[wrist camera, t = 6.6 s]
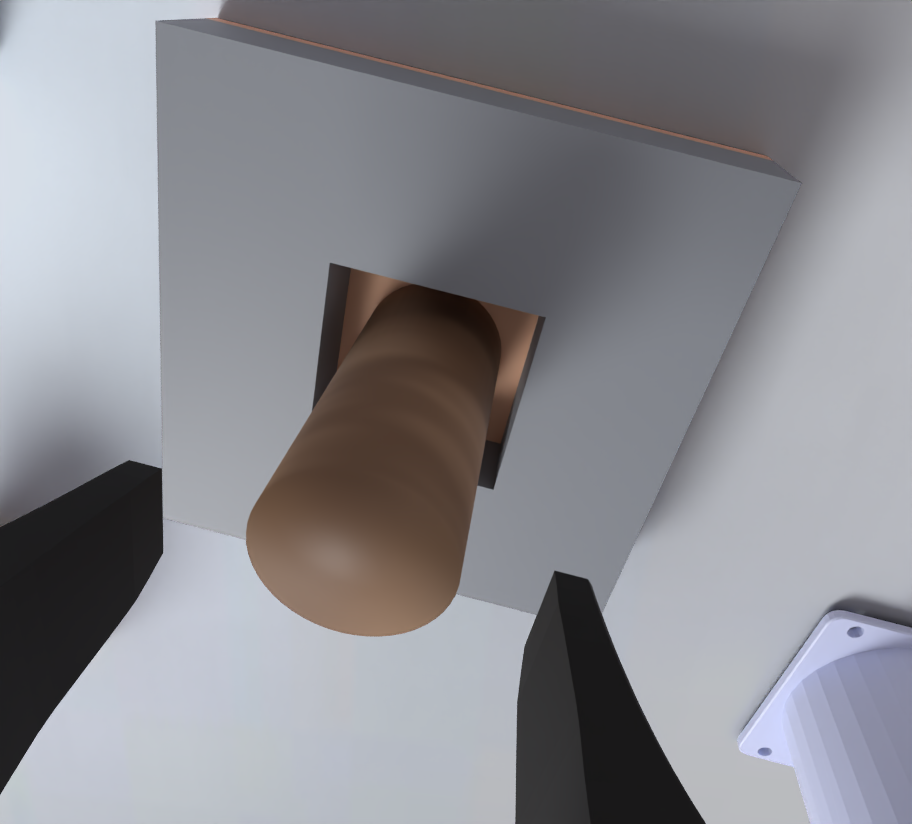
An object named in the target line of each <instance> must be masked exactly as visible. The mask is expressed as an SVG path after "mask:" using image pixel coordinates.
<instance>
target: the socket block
mask: <svg viewBox="0 0 912 824" xmlns="http://www.w3.org/2000/svg"><path fill="white" fill-rule="evenodd" d="M156 83H157V149H158V215H159V281H160V346H161V412H162V478H163V518H164V519H167V520H171V521H175V522H179V523H183V524H187V525H191V526H194V527H198V528H202V529H206V530H210V531H214V532H218V533H222V534H225V535H229V536H233V537H237V538H241V539H245V540H246V529H247V522H248V519H249V516H250V513H251V511H252V509H253V507H254V505H255V503H256V502H257V500H258V498H259V497H260V495H261V494H262V492H263V490H264V489H265V487H266V485H267V484H268V482H269V481H270V479H271V477H272V476H273V474H274V472H275V471H276V469H277V468H278V466H279V464H280V463H281V461H282V459H283V458H284V456H285V455H286V453H287V451H288V450H289V448H290V446H291V445H292V443H293V442H294V440H295V438H296V437H297V435H298V433H299V432H300V430H301V429H302V427H303V425H304V424H305V422H306V420H307V419H308V417H309V416H310V414H311V412H312V411H313V409H314V407H315V406H316V404H317V403H318V401H319V399H320V398H321V396H322V394H323V393H324V391H325V390H326V388H327V386H328V385H329V383H330V381H331V380H332V378H333V377H334V375H335V373H336V372H337V370H338V368H339V367H340V365H341V364H342V362H343V360H344V359H345V357H346V355H347V354H348V352H349V351H350V349H351V347H352V346H353V344H354V342H355V341H356V339H357V338H358V336H359V334H360V333H361V331H362V330H363V328H364V326H365V325H366V323H367V321H368V320H369V318H370V317H371V315H372V313H373V312H374V310H375V309H376V307H377V306H378V305H379V303H380V302H381V301H382V300H383V299H384V298H385V297H387V296H388V295H389V294H391V293H392V292H394V291H396V290H398V289H400V288H402V287H405V286H408V285H411V284H416V285H420V286H424V287H428V288H432V289H436V290H440V291H444V292H448V293H452V294H456V295H459V296H463V297H467V298H471V299H475V300H477V301H478V302H479V303H480V304H481V305H482V306H483V307H484V308H485V309H486V310H487V311H488V313H489V314H490V315H491V317H492V319H493V320H494V322H495V324H496V327H497V329H498V332H499V336H500V340H501V359H500V364H499V370H498V375H497V381H496V386H495V392H494V397H493V403H492V408H491V414H490V419H489V425H488V430H487V436H486V441H485V447H484V452H483V458H482V463H481V469H480V474H479V480H478V485H477V491H476V496H475V502H474V507H473V513H472V518H471V524H470V529H469V535H468V540H467V546H466V551H465V557H464V562H463V568H462V573H461V578H460V584H459V587H458V590H457V592H456V594H458V595H462V596H465V597H469V598H473V599H477V600H481V601H485V602H489V603H493V604H496V605H500V606H504V607H508V608H512V609H516V610H520V611H523V612H527V613H531V614H535V615H537V614H538V611H539V609H540V606H541V604H542V601H543V598H544V596H545V593H546V591H547V588H548V586H549V583H550V581H551V578H552V576H553V573H554V571H559V572H563V573H567V574H570V575H574V576H578V577H582V578H586V579H588V580H589V581H590V583H591V585H592V587H593V590H594V593H595V596H596V599H597V602H598V605H599V608H600V611H601V613H602V612H603V610H604V608H605V606H606V604H607V602H608V599H609V597H610V595H611V593H612V591H613V589H614V587H615V584H616V582H617V580H618V578H619V576H620V574H621V572H622V569H623V567H624V565H625V563H626V561H627V559H628V556H629V554H630V552H631V550H632V548H633V546H634V544H635V541H636V539H637V537H638V535H639V533H640V531H641V528H642V526H643V524H644V522H645V520H646V518H647V516H648V513H649V511H650V509H651V507H652V505H653V503H654V500H655V498H656V496H657V494H658V492H659V490H660V488H661V485H662V483H663V481H664V479H665V477H666V475H667V472H668V470H669V468H670V466H671V464H672V462H673V460H674V457H675V455H676V453H677V451H678V449H679V447H680V444H681V442H682V440H683V438H684V436H685V434H686V432H687V429H688V427H689V425H690V423H691V421H692V419H693V417H694V414H695V412H696V410H697V408H698V406H699V404H700V401H701V399H702V397H703V395H704V393H705V391H706V389H707V386H708V384H709V382H710V380H711V378H712V376H713V373H714V371H715V369H716V367H717V365H718V363H719V361H720V358H721V356H722V354H723V352H724V350H725V348H726V345H727V343H728V341H729V339H730V337H731V335H732V333H733V330H734V328H735V326H736V324H737V322H738V320H739V317H740V315H741V313H742V311H743V309H744V307H745V305H746V302H747V300H748V298H749V296H750V294H751V292H752V289H753V287H754V285H755V283H756V281H757V279H758V277H759V274H760V272H761V270H762V268H763V266H764V264H765V262H766V259H767V257H768V255H769V253H770V251H771V249H772V246H773V244H774V242H775V240H776V238H777V236H778V234H779V231H780V229H781V227H782V225H783V223H784V221H785V218H786V216H787V214H788V212H789V210H790V208H791V206H792V203H793V201H794V199H795V197H796V195H797V193H798V190H799V188H800V186H801V184H802V183H801V182H800V181H799V180H797V179H796V178H795V177H793V176H792V175H791V174H790V173H788V172H787V171H786V170H784V169H783V168H782V167H781V166H779V165H778V164H777V163H775V162H774V161H773V160H772V159H770V158H769V157H768V156H765V155H761V154H757V153H753V152H749V151H745V150H741V149H737V148H733V147H729V146H725V145H721V144H717V143H713V142H709V141H705V140H701V139H697V138H693V137H689V136H685V135H681V134H677V133H673V132H669V131H665V130H661V129H657V128H653V127H649V126H645V125H641V124H637V123H633V122H629V121H625V120H621V119H617V118H614V117H610V116H606V115H602V114H598V113H594V112H590V111H586V110H582V109H578V108H574V107H570V106H566V105H562V104H558V103H554V102H550V101H546V100H542V99H538V98H534V97H530V96H526V95H522V94H518V93H514V92H510V91H506V90H502V89H498V88H494V87H490V86H486V85H482V84H478V83H474V82H470V81H466V80H462V79H458V78H454V77H450V76H446V75H442V74H438V73H434V72H430V71H426V70H422V69H418V68H414V67H410V66H406V65H402V64H398V63H394V62H390V61H386V60H382V59H378V58H374V57H370V56H366V55H362V54H358V53H354V52H350V51H346V50H342V49H338V48H334V47H330V46H326V45H322V44H319V43H315V42H311V41H307V40H303V39H299V38H295V37H291V36H287V35H283V34H279V33H275V32H271V31H267V30H263V29H259V28H255V27H251V26H247V25H243V24H239V23H235V22H231V21H227V20H223V19H219V18H205V19H184V20H162V21H156Z"/></svg>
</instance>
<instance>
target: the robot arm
mask: <svg viewBox="0 0 912 824" xmlns="http://www.w3.org/2000/svg"><path fill="white" fill-rule="evenodd" d="M162 554H163V509H162V469H161V468H157V467H153V466H149V465H146V464H142V463H138V462H134V461H130V460H129V461H127V462H125V463H123V464H121V465H119V466H117V467H115V468H113V469H111V470H109V471H107V472H105V473H103V474H102V475H100V476H98V477H96V478H94V479H92V480H91V481H89V482H87V483H85V484H83V485H81V486H79V487H78V488H76V489H74V490H72V491H70V492H68V493H66V494H64V495H63V496H61V497H59V498H57V499H55V500H53V501H51V502H49V503H47V504H45V505H43V506H42V507H40V508H38V509H36V510H34V511H32V512H30V513H28V514H26V515H24V516H22V517H20V518H18V519H16V520H14V521H12V522H10V523H8V524H6V525H4V526H2V527H0V794H1V792H2V791H3V789H4V787H5V786H6V784H7V782H8V781H9V779H10V778H11V776H12V774H13V773H14V771H15V770H16V768H17V766H18V765H19V763H20V761H21V760H22V758H23V757H24V755H25V753H26V752H27V750H28V748H29V747H30V745H31V744H32V742H33V740H34V739H35V737H36V735H37V734H38V732H39V731H40V730H41V728H42V727H43V725H44V724H45V722H46V721H47V719H48V718H49V717H50V715H51V714H52V712H53V711H54V709H55V708H56V707H57V705H58V704H59V703H60V701H61V700H62V699H63V697H64V696H65V695H66V693H67V692H68V691H69V689H70V688H71V687H72V685H73V684H74V683H75V682H76V680H77V679H78V678H79V676H80V675H81V674H82V672H83V671H84V670H85V668H86V667H87V666H88V664H89V663H90V662H91V660H92V659H93V658H94V656H95V655H96V654H97V652H98V651H99V650H100V648H101V647H102V646H103V644H104V643H105V642H106V641H107V639H108V638H109V637H110V635H111V634H112V632H113V631H114V630H115V628H116V627H117V626H118V624H119V623H120V622H121V620H122V619H123V618H124V616H125V615H126V614H127V612H128V611H129V610H130V608H131V607H132V605H133V604H134V603H135V601H136V600H137V598H138V596H139V594H140V593H141V591H142V589H143V588H144V586H145V584H146V583H147V581H148V579H149V577H150V575H151V574H152V572H153V570H154V568H155V566H156V565H157V563H158V561H159V559H160V557H161V556H162ZM852 627H856V628H853V629H850V628H852ZM737 742H738V746H739V750H740V751H741V752H742V753H744V754H746V755H749V756H753V757H757V758H761V759H765V760H769V761H772V762H776V763H780V764H784V765H788V766H792V767H794V770H795V773H796V776H797V780H798V783H799V786H800V790H801V793H802V797H803V800H804V803H805V807H806V810H807V814H808V817H809V820H810V824H912V628H910V627H906V626H903V625H899V624H895V623H891V622H887V621H883V620H879V619H875V618H871V617H868V616H864V615H860V614H856V613H852V612H848V611H843V610H835V611H831V612H829V613H827V614H826V615H825V616H824V617H823V618H822V620H821V621H820V623H819V624H818V625H817V627H816V628H815V630H814V631H813V632H812V634H811V635H810V637H809V638H808V640H807V641H806V642H805V644H804V645H803V647H802V648H801V649H800V651H799V652H798V654H797V655H796V656H795V658H794V659H793V661H792V662H791V663H790V665H789V666H788V668H787V669H786V670H785V672H784V673H783V675H782V676H781V678H780V679H779V680H778V682H777V683H776V685H775V686H774V687H773V689H772V690H771V692H770V693H769V694H768V696H767V697H766V699H765V700H764V701H763V703H762V704H761V706H760V707H759V709H758V710H757V711H756V713H755V714H754V716H753V717H752V718H751V720H750V721H749V723H748V724H747V725H746V727H745V728H744V730H743V731H742V732H741V734H740V735H739V737H738V739H737ZM515 824H706V823H705V821H704V820H703V818H702V817H701V815H700V814H699V812H698V810H697V809H696V807H695V806H694V804H693V802H692V801H691V799H690V798H689V796H688V794H687V793H686V791H685V789H684V787H683V786H682V784H681V782H680V781H679V779H678V777H677V776H676V774H675V772H674V770H673V769H672V767H671V765H670V763H669V761H668V760H667V758H666V756H665V754H664V752H663V750H662V748H661V747H660V745H659V743H658V741H657V739H656V737H655V735H654V733H653V731H652V729H651V727H650V725H649V723H648V721H647V719H646V717H645V715H644V713H643V711H642V709H641V707H640V705H639V703H638V700H637V698H636V696H635V694H634V692H633V689H632V687H631V685H630V683H629V680H628V678H627V676H626V674H625V671H624V669H623V667H622V664H621V662H620V660H619V657H618V655H617V652H616V650H615V648H614V645H613V642H612V640H611V637H610V635H609V632H608V630H607V627H606V624H605V622H604V619H603V616H602V613H601V611H600V608H599V605H598V602H597V599H596V596H595V593H594V590H593V587H592V585H591V583H590V581H589V580H588V579H586V578H582V577H578V576H574V575H570V574H567V573H563V572H559V571H554V573H553V576H552V578H551V581H550V583H549V586H548V588H547V591H546V593H545V596H544V598H543V601H542V604H541V606H540V609H539V611H538V614H537V616H536V619H535V621H534V624H533V626H532V629H531V632H530V634H529V637H528V639H527V642H526V644H525V647H524V654H523V662H522V669H521V677H520V685H519V693H518V701H517V750H516V822H515Z"/></svg>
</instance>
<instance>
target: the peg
mask: <svg viewBox="0 0 912 824" xmlns="http://www.w3.org/2000/svg"><path fill="white" fill-rule="evenodd" d="M500 359H501V340H500V336H499V332H498V329H497V327H496V324H495V322H494V320H493V319H492V317H491V315H490V314H489V313H488V311H487V310H486V309H485V308H484V307H483V306H482V305H481V304H480V303H479V302H478V301H477V300H475V299H471V298H467V297H463V296H459V295H456V294H452V293H448V292H444V291H440V290H436V289H432V288H428V287H424V286H420V285H416V284H411V285H408V286H405V287H402V288H400V289H398V290H396V291H394V292H392V293H391V294H389V295H388V296H387V297H385V298H384V299H383V300H382V301H381V302H380V303H379V305H378V306H377V307H376V309H375V310H374V312H373V313H372V315H371V317H370V318H369V320H368V321H367V323H366V325H365V326H364V328H363V330H362V331H361V333H360V334H359V336H358V338H357V339H356V341H355V342H354V344H353V346H352V347H351V349H350V351H349V352H348V354H347V355H346V357H345V359H344V360H343V362H342V364H341V365H340V367H339V368H338V370H337V372H336V373H335V375H334V377H333V378H332V380H331V381H330V383H329V385H328V386H327V388H326V390H325V391H324V393H323V394H322V396H321V398H320V399H319V401H318V403H317V404H316V406H315V407H314V409H313V411H312V412H311V414H310V416H309V417H308V419H307V420H306V422H305V424H304V425H303V427H302V429H301V430H300V432H299V433H298V435H297V437H296V438H295V440H294V442H293V443H292V445H291V446H290V448H289V450H288V451H287V453H286V455H285V456H284V458H283V459H282V461H281V463H280V464H279V466H278V468H277V469H276V471H275V472H274V474H273V476H272V477H271V479H270V481H269V482H268V484H267V485H266V487H265V489H264V490H263V492H262V494H261V495H260V497H259V498H258V500H257V502H256V503H255V505H254V507H253V509H252V511H251V513H250V516H249V519H248V522H247V529H246V545H247V550H248V554H249V557H250V560H251V563H252V565H253V567H254V569H255V571H256V573H257V575H258V576H259V578H260V579H261V581H262V582H263V584H264V585H265V586H266V587H267V589H268V590H269V591H270V592H271V593H272V594H273V595H274V596H275V597H276V598H277V599H278V600H279V601H280V602H281V603H283V604H284V605H285V606H287V607H288V608H289V609H291V610H292V611H293V612H295V613H297V614H298V615H300V616H302V617H303V618H305V619H307V620H309V621H311V622H313V623H315V624H318V625H320V626H323V627H325V628H328V629H331V630H335V631H338V632H342V633H347V634H352V635H360V636H390V635H396V634H402V633H406V632H409V631H412V630H415V629H418V628H420V627H422V626H424V625H426V624H428V623H429V622H431V621H433V620H434V619H436V618H437V617H438V616H439V615H440V614H442V613H443V612H444V611H445V609H446V608H447V607H448V606H449V605H450V603H451V602H452V600H453V598H454V597H455V595H456V592H457V590H458V587H459V584H460V578H461V573H462V568H463V562H464V557H465V551H466V546H467V540H468V535H469V529H470V524H471V518H472V513H473V507H474V502H475V496H476V491H477V485H478V480H479V474H480V469H481V463H482V458H483V452H484V447H485V441H486V436H487V430H488V425H489V419H490V414H491V408H492V403H493V397H494V392H495V386H496V381H497V375H498V370H499V364H500Z"/></svg>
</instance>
